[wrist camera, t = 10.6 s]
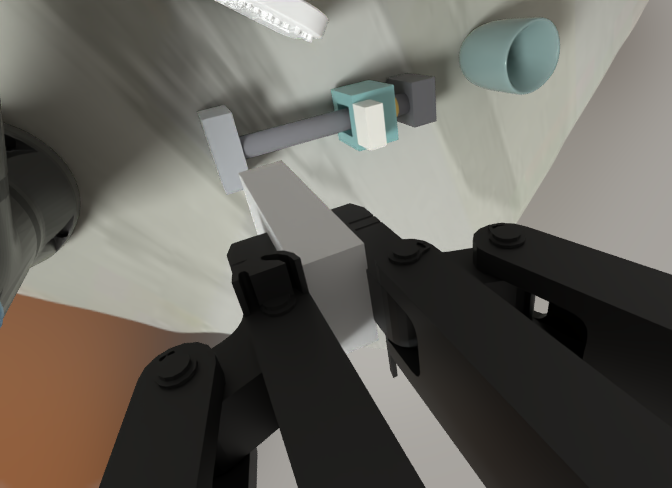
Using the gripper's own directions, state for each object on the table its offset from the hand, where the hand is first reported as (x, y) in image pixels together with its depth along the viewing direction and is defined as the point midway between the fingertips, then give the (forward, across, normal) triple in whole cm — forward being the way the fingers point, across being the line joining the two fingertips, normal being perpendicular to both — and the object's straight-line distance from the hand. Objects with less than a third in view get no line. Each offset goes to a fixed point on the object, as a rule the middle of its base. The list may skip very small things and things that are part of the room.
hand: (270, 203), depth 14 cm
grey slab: (+34, +1, -6) cm, 35 cm away
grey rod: (+32, +12, -6) cm, 34 cm away
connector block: (+34, +24, -6) cm, 42 cm away
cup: (+35, +36, -3) cm, 50 cm away
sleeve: (+34, +17, -6) cm, 39 cm away
